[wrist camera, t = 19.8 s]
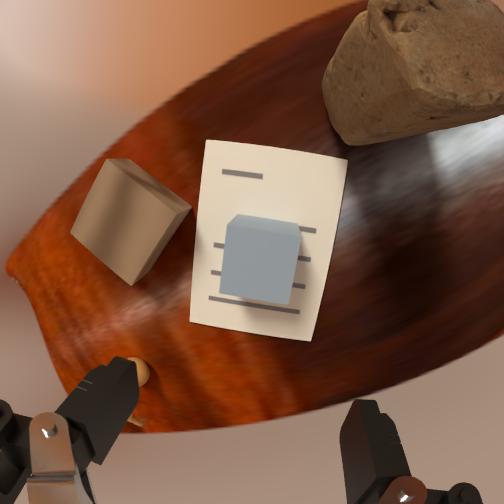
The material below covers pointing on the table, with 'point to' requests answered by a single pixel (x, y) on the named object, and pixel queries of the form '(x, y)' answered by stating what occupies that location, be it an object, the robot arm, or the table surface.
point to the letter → (271, 207)
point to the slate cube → (260, 258)
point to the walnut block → (128, 219)
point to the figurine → (140, 384)
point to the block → (416, 69)
